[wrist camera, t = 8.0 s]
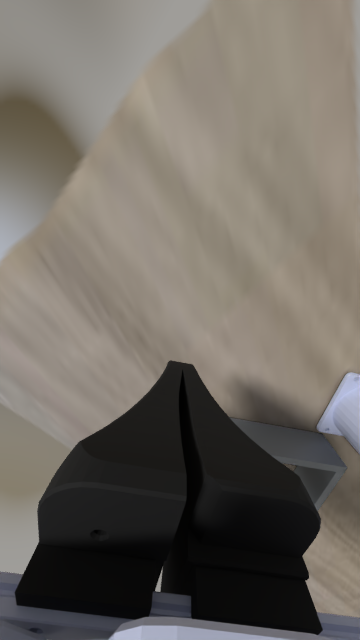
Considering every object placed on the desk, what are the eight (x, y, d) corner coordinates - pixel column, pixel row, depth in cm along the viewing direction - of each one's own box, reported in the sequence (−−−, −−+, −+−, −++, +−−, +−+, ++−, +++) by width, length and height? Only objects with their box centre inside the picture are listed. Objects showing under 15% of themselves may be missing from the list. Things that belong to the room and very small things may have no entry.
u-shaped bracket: (322, 433, 24) (347, 467, 21) (271, 521, 30) (283, 560, 26) (223, 416, 24) (230, 448, 20) (190, 509, 30) (191, 547, 26)
